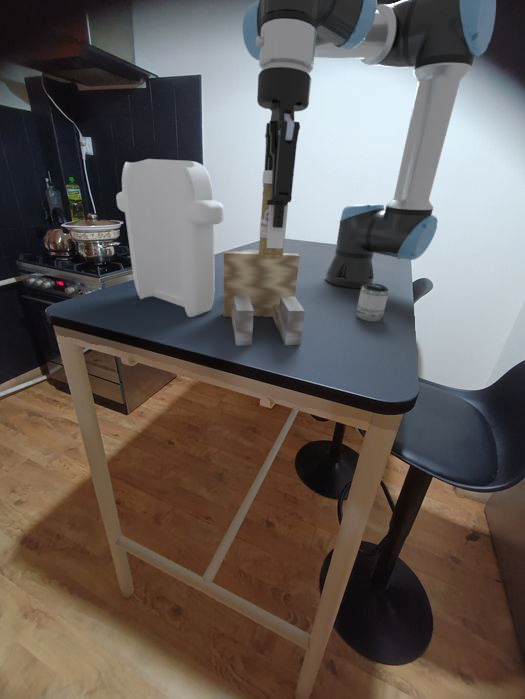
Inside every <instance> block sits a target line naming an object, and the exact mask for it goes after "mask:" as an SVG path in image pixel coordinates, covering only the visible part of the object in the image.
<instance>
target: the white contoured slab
mask: <svg viewBox="0 0 525 699" xmlns="http://www.w3.org/2000/svg"><path fill="white" fill-rule="evenodd" d="M121 174H122V175H121V188H122V189H121V191H120V192H118V193H117V194H116V196H115V197H116V198H115V199H116V206H117V208H118V210H120V211H121V212H123V213H124V216H125V224H126V230H127V238H128V245H129V255H130V262H131V268H132V276H133V283H134V286H135V290H136V293H137V294H138V297H139V299H140V300H142V299H143V300H144V299H145V298H149V297H155V298H158V299H160V300H163V301H166V302H169V303H171V304H174V305H177V306H180V307H182V308H184V310H185V313H186V315H187V317H189V318H194V317H197V316H199V315H202V314H204V313H207V312H209V311H211V309H212V307H213V305H214V300H215V292H216V291H215V278H216V277H215V275H216V273H215V270H216V269H215V226H216V225H219V224H221V223H222V222H223V221H224V219H225V218H224V215H225V214H224V213H225V211H224V210H225V209H224V208H225V207H224V205H223V204H222V203H221V202H219V201H217V200H215V199H214V198H215V197H214V189H213V184H212V179H211V177H210V174H209V172H208V170H207V169H206V167H205V166H204V165H203V164H201V163H199V162H197V161H192V160H183V159H181V160H179V159H177V160H176V159H156V158H155V159H154V158H147V159H143V160H139V161H135V162H129V161H125V163H124V164H123V168H122V173H121Z"/></svg>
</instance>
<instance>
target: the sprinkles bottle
mask: <svg viewBox="0 0 525 699" xmlns="http://www.w3.org/2000/svg"><path fill="white" fill-rule="evenodd" d="M264 170H265V169H264ZM264 170H263V172H262V188H263V189H262V199H261V201H262V202H261V216H260V225H259V248H258V250H259V253H258V255H259V256H260V257H262V258H265V259H281V258H283V253H284V246H285V242H284V243H283V249H282V248H267V247H266V246H267V231H268V217H269V205H267V200H271V196H272V170H265V171H264ZM288 207H289V205H287V210H286V221H285V232H284V240H285V239H286V228H287V218H288V209H289V208H288Z"/></svg>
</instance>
